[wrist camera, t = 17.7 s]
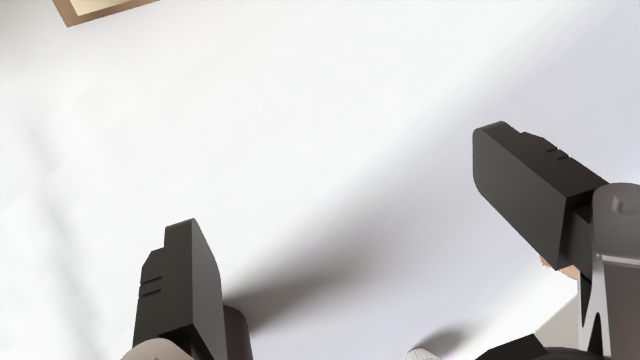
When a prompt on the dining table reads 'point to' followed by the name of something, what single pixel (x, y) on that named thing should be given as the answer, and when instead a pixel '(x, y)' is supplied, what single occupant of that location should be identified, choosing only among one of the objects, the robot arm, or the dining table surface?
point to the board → (93, 9)
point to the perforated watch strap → (564, 269)
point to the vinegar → (236, 335)
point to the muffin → (420, 355)
